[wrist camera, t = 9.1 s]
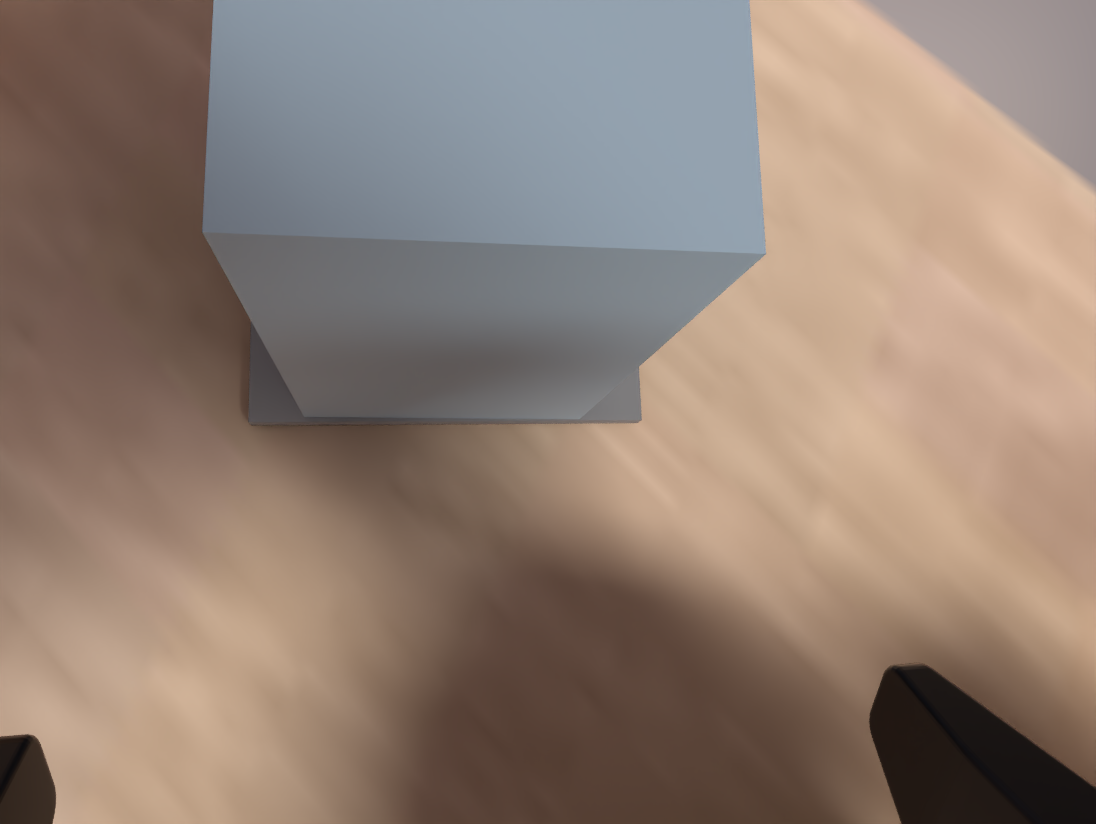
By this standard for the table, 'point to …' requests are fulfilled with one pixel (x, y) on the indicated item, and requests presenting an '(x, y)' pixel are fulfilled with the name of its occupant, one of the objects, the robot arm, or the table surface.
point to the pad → (280, 408)
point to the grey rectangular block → (478, 193)
